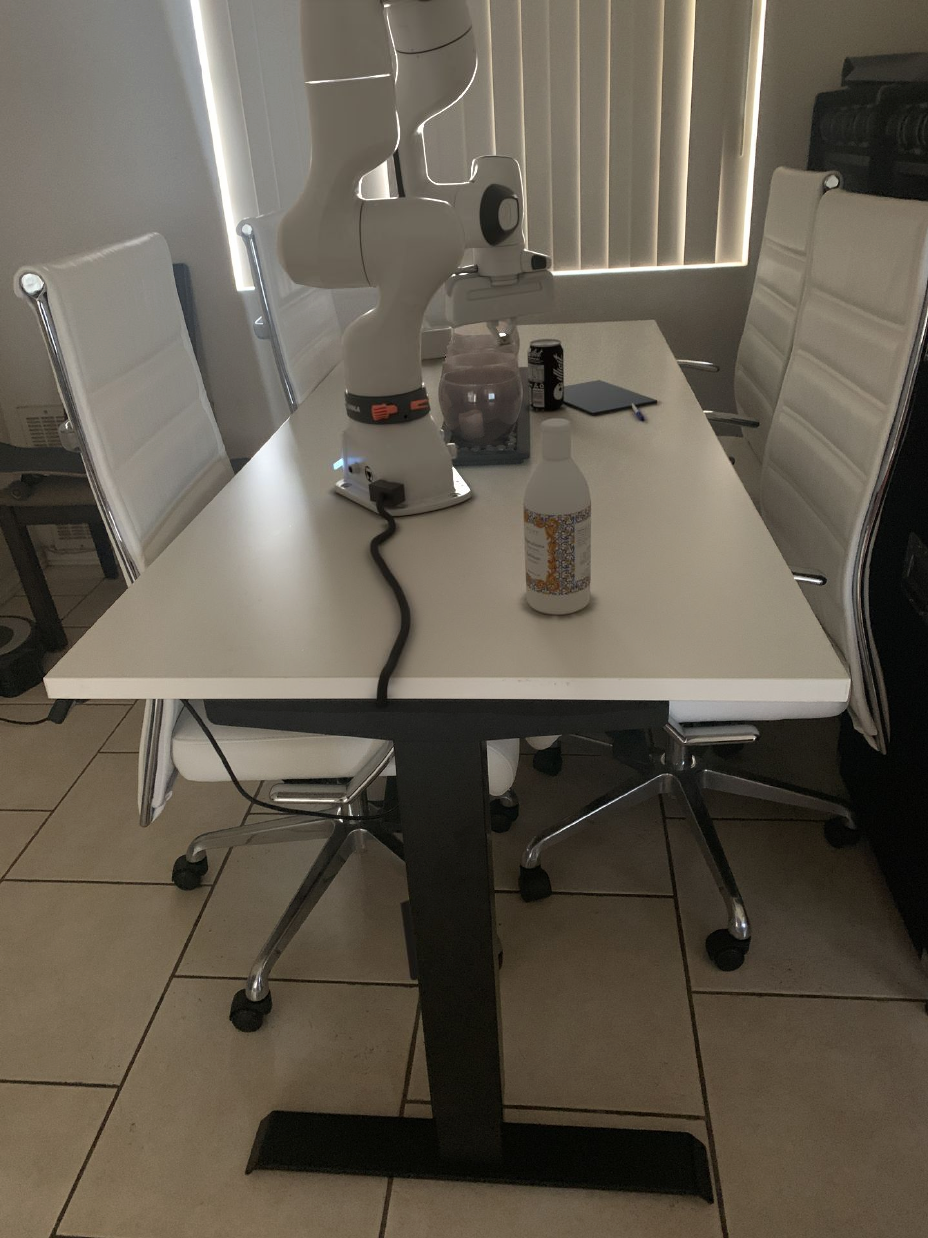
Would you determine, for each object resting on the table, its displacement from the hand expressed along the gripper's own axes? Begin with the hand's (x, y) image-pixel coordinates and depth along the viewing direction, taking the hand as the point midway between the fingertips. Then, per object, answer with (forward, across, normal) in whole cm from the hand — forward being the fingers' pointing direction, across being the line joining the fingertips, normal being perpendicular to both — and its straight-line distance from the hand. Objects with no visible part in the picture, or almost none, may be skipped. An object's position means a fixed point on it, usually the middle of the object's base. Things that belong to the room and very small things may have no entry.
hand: (502, 344), depth 158 cm
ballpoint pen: (+13, +20, -13) cm, 27 cm away
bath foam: (+12, -30, -70) cm, 77 cm away
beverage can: (+13, +8, 0) cm, 15 cm away
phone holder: (+13, +10, +63) cm, 65 cm away
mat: (+13, +20, 0) cm, 23 cm away
